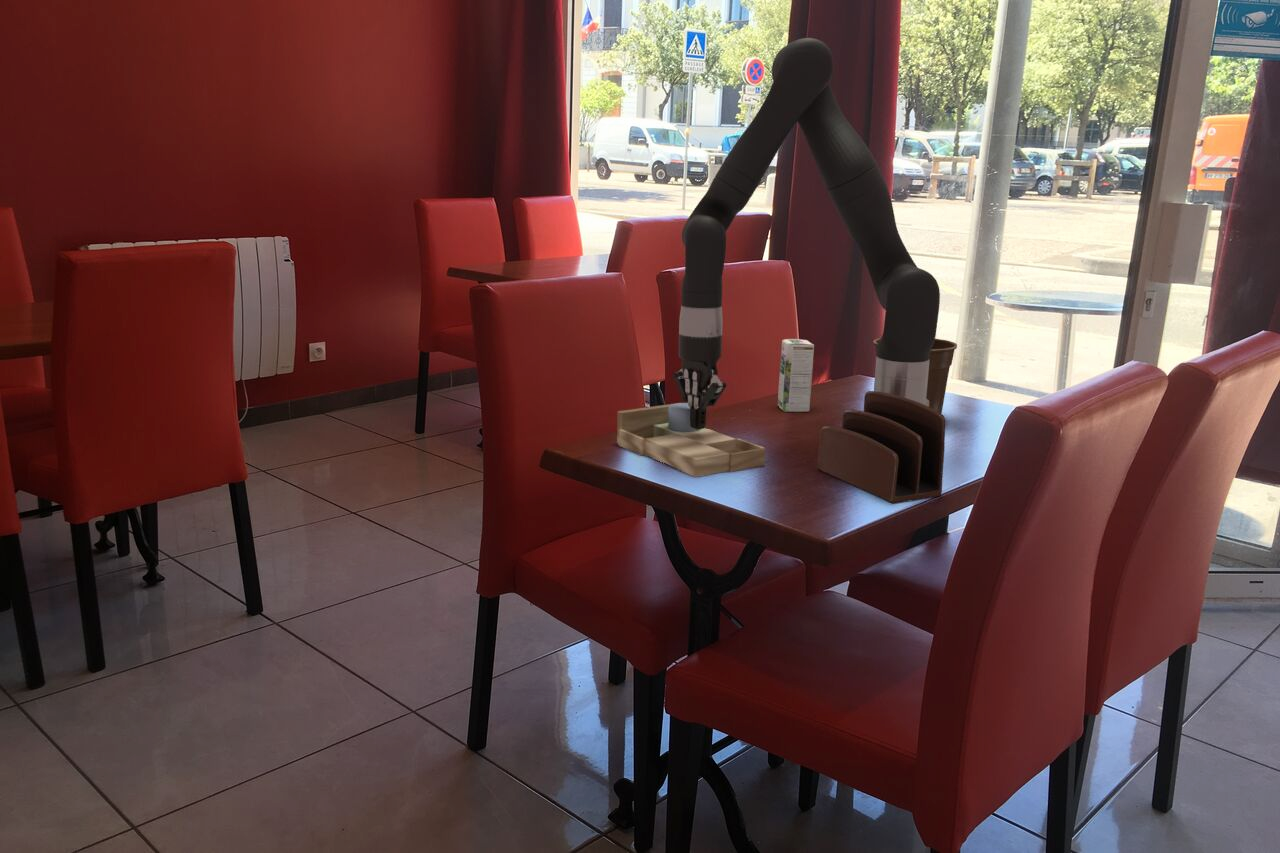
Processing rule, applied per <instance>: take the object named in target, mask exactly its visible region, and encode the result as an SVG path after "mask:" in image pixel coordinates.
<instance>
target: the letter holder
mask: <svg viewBox="0 0 1280 853" xmlns="http://www.w3.org/2000/svg"><path fill="white" fill-rule="evenodd" d="M863 399H864V401H863V410H856V409H846V410H844V411H843V413H842V422H841V427H837V426H833V425H825V426H823V427H821V429H820V433H819V436H820V437H819V443H818V444H819V446H818V454H817V470H818V471H820V472H823V473H825V474H826V475H829V476H831V477H833V478H835V479H838V480H840V481H843V482H844V483H847V484H849V485H852V486H854V487H856V488H858V489H860V490H862V491H864V492H866V493H869V494H871V495H873V496H875V495H876V497H877V496H878V497H877V498H879V499H882V500H884V501H886V500H887V502H888V501H889V502H888V503H891V504H897V503H898V502H899V503H904V501H905V502H910V501H909V500H912V501H918V500H924V499H923V498H925V499H929V498H928V497H931V498H936V497H935V496H937V497H940V496H941V495H942V492H943V477H944V476H943V473H944V472H943V471H944V462H945V461H944V460H945V444H946V443H945V441H946V440H945V438H946V423H947V422H946V421H947V420H946V417H945V415H944V414H943V413H942V414H941V413H939V412H937V411H936V410H934V409H932V408H930V407H928V406H926V405H924V404H921V403H919V402H916V401H914V400H911V399H908V398H905V397H901V396H898V395H893V394H889V393H884V392H876V391H874V390H868V391H866V392H865V394H864V398H863ZM917 499H918V500H917ZM899 503H898V504H899Z"/></svg>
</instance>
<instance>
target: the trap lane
mask: <svg viewBox="0 0 1280 853" xmlns="http://www.w3.org/2000/svg"><path fill="white" fill-rule="evenodd" d="M671 404H672V403H670V404H663V405H654V406H647V407H641V408H633V409H632V408H631V409H626V410H625V409H624V410H618V411H617V413H616V414H617V419H616V420H617V422H616V423H617V424H616V426H617V429H616V430H617V431H616V432H617V433H616V436H617V437H616V444H618V446H619V447H621V448H624V449H626V450H628V451H630V452H632V451H633V453H634V452H635V453H634V454H637V455H639V454H640V455H639V456H641V455H642V456H645V455H646V456H645V457H648V456H649V457H648V458H650V457H651V458H650V459H652V458H653V459H652V460H655V459H656V460H655V461H657V460H658V461H657V462H659V461H660V463H662V462H663V463H662V464H664V463H666V464H668V465H670V466H669V467H671V466H672V468H673V467H674V468H673V469H675V468H676V470H678V471H680V470H681V471H680V472H683V473H684V474H686V475H690V476H692V477H693V478H694V477H695V478H698V477H702V476H709V475H715V474H721V473H725V472H733V473H734V472H737V471H744V470H747V469H753V468H759V467H764V466H765V463H766V461H765V460H766V447H764V446H761V445H758V444H755V443H753V442H750V441H748V440H744V439H742V438H734V437H731V436H728V435H726V434H723V433H720V432H717V431H714V430H713V429H710V428H706V427H704V428H703V429H700V430H698V431H693V432H679V431H673V430H670V429H669V428H668V415H669V405H671ZM666 464H665V465H666ZM668 465H667V466H668Z"/></svg>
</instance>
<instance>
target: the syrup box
mask: <svg viewBox="0 0 1280 853" xmlns="http://www.w3.org/2000/svg"><path fill="white" fill-rule="evenodd" d="M814 350H815V344H813V343H812V342H810V341H809V340H807V339H800V338H799V339H798V338H786V339H782V340H781V352H780V353H781V355H780V366H779V379H778V380H779V381H778V396H777V407H778V406H779V408H780V409H781V411H783V413H784V412H785V413H792V412H793V413H798V412H799V413H802V412H806V413H808V412H810V408H811V406H810V405H811V395H812V394H811V392H812V382H813V381H812V380H813V368H814V366H813V365H814V356H815V355H814V352H815V351H814Z"/></svg>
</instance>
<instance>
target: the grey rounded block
mask: <svg viewBox="0 0 1280 853" xmlns="http://www.w3.org/2000/svg"><path fill="white" fill-rule="evenodd" d="M670 404H671V405H669V415H668V428H669V429H670V430H673V431H679V432H693V431H698V430H700V429H694V428H691V426H690V407H689V406H688V403H687V402H677V403H670Z"/></svg>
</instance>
